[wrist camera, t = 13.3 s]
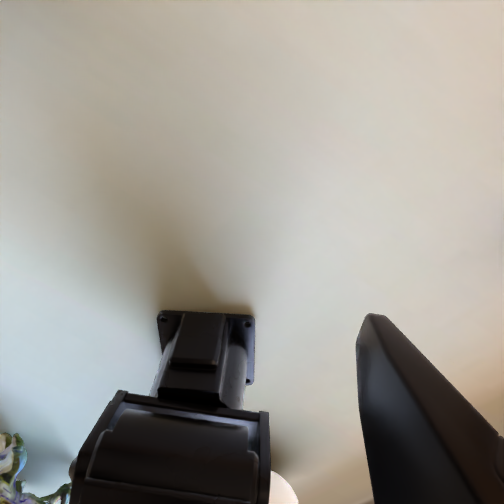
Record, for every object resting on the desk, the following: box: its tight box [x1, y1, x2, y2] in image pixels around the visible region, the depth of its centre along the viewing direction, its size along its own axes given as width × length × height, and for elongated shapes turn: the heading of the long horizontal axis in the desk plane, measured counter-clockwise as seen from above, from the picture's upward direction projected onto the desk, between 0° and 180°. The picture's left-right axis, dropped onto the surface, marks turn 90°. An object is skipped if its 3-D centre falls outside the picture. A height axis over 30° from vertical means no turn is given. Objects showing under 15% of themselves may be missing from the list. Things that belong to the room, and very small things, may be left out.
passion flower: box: [0, 433, 72, 504], centre depth 35 cm, size 11×11×12 cm
